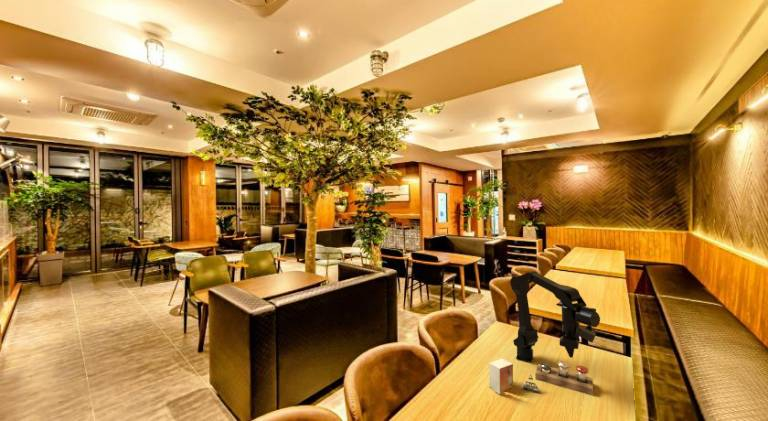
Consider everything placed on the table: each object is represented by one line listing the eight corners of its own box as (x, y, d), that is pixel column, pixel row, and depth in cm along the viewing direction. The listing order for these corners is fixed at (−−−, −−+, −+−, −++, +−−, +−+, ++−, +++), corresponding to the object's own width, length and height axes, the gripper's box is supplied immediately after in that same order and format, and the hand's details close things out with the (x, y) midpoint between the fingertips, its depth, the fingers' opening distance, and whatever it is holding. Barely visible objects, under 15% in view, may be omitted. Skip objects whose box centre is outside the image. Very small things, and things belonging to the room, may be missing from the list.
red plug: (576, 382, 120) (576, 368, 120) (576, 378, 123) (576, 364, 123) (588, 386, 118) (588, 371, 117) (588, 381, 121) (588, 367, 121)
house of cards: (545, 388, 122) (545, 370, 122) (545, 400, 115) (545, 380, 115) (521, 383, 126) (521, 365, 126) (520, 394, 119) (520, 375, 119)
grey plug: (540, 378, 127) (540, 365, 127) (541, 374, 131) (541, 361, 130) (550, 381, 125) (550, 368, 125) (551, 377, 128) (551, 364, 128)
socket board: (535, 382, 126) (535, 373, 126) (538, 372, 133) (538, 363, 133) (592, 399, 115) (592, 388, 115) (592, 387, 122) (592, 377, 122)
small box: (499, 395, 118) (499, 368, 118) (488, 387, 123) (488, 362, 123) (513, 389, 121) (513, 363, 121) (502, 382, 126) (502, 357, 126)
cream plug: (557, 377, 124) (557, 364, 123) (558, 373, 127) (558, 360, 127) (568, 380, 121) (568, 366, 121) (569, 376, 125) (569, 362, 124)
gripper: (593, 330, 110) (594, 372, 110) (594, 316, 125) (595, 353, 125) (558, 324, 117) (560, 364, 116) (563, 311, 132) (564, 347, 131)
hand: (571, 357), depth 122 cm, fingers closed
